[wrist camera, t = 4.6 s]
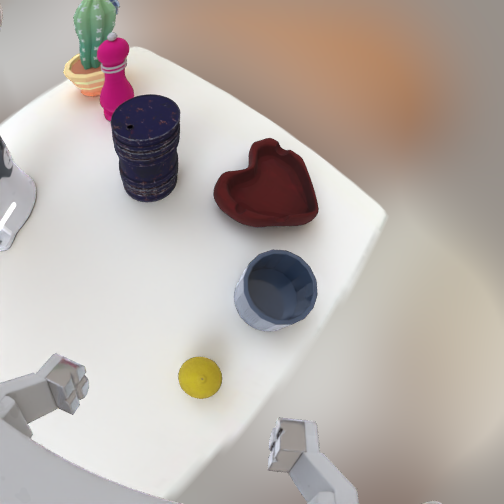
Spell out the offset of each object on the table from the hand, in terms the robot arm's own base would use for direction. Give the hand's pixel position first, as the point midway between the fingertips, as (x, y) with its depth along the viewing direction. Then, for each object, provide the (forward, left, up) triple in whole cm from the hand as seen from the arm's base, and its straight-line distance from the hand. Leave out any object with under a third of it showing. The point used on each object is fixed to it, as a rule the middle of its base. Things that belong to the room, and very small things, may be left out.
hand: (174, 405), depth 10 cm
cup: (+16, +6, -30) cm, 35 cm away
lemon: (+2, -1, -30) cm, 30 cm away
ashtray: (+24, +22, -30) cm, 45 cm away
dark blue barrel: (+5, +32, -30) cm, 44 cm away
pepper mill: (+2, +52, -30) cm, 60 cm away
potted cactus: (-2, +65, -30) cm, 72 cm away
